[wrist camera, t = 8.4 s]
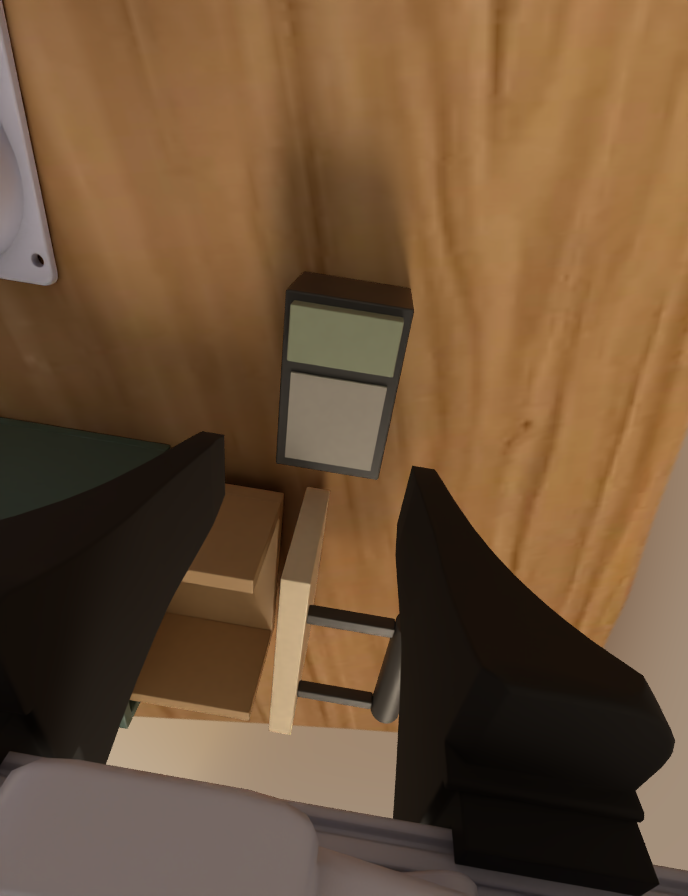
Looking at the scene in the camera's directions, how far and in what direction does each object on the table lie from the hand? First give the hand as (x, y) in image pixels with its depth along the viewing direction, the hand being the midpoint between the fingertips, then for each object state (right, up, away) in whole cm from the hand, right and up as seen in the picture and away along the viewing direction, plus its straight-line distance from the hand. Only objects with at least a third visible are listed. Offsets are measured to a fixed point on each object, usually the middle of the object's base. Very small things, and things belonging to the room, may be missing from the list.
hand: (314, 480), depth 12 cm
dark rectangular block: (+1, +5, +8) cm, 9 cm away
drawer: (-5, -6, +14) cm, 15 cm away
